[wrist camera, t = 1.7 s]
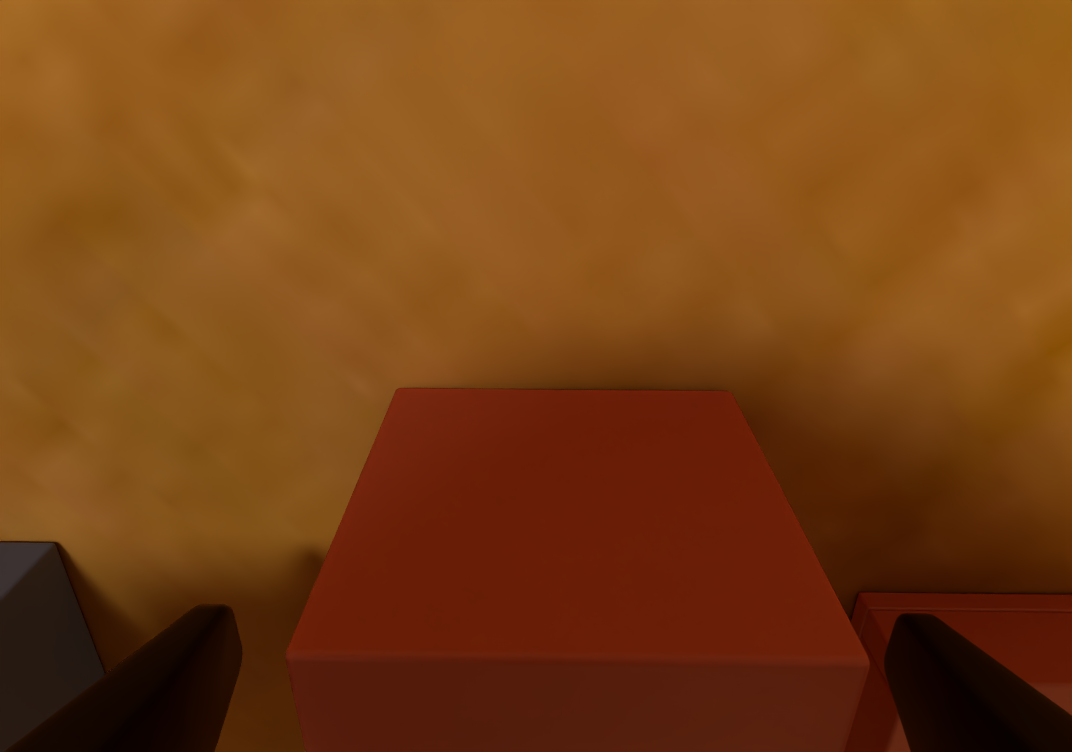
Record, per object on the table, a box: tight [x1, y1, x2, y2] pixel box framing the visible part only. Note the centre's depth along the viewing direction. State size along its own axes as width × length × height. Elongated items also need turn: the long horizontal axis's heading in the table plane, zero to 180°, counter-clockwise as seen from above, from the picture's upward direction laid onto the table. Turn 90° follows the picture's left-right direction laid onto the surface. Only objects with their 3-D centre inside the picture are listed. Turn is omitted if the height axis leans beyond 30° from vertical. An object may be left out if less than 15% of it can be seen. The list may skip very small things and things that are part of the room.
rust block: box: [285, 388, 869, 752], centre depth 9 cm, size 5×5×5 cm
